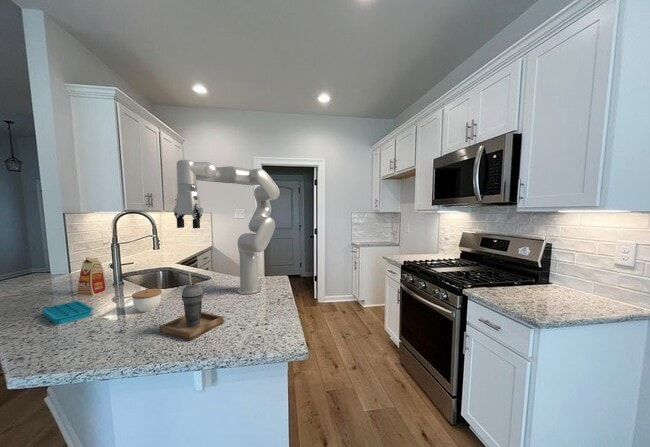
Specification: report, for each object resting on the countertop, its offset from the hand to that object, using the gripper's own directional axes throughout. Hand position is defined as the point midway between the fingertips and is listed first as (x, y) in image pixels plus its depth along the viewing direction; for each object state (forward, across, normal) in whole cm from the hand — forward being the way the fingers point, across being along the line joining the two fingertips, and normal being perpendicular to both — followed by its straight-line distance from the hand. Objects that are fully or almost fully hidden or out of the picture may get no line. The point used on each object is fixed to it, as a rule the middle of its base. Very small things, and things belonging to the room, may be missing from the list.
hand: (188, 228), depth 111 cm
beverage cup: (+36, -17, +13) cm, 41 cm away
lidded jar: (+36, +17, +8) cm, 41 cm away
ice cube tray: (+37, +42, +25) cm, 61 cm away
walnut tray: (+36, -17, +13) cm, 42 cm away
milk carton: (+36, +67, +5) cm, 76 cm away
